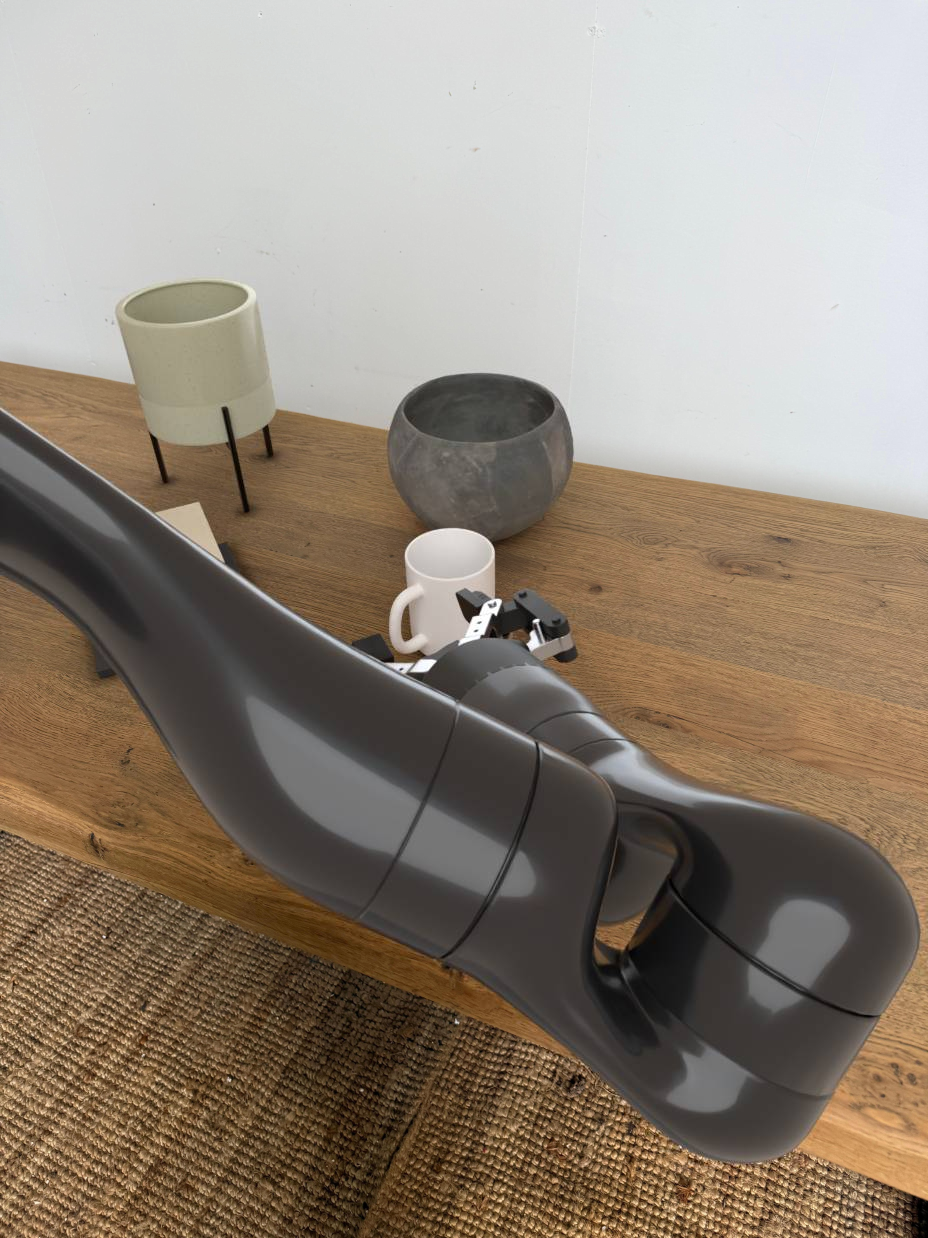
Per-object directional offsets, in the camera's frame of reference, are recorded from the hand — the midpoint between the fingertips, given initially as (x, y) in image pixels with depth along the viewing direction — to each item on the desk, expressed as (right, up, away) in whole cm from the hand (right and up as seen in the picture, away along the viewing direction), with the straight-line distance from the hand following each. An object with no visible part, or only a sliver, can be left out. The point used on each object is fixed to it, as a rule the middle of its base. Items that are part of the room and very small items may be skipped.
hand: (405, 632), depth 55 cm
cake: (-27, +2, +35) cm, 45 cm away
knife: (-2, -13, +16) cm, 21 cm away
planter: (-27, +18, +55) cm, 64 cm away
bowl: (+6, +12, +47) cm, 48 cm away
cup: (+1, -2, +30) cm, 30 cm away
